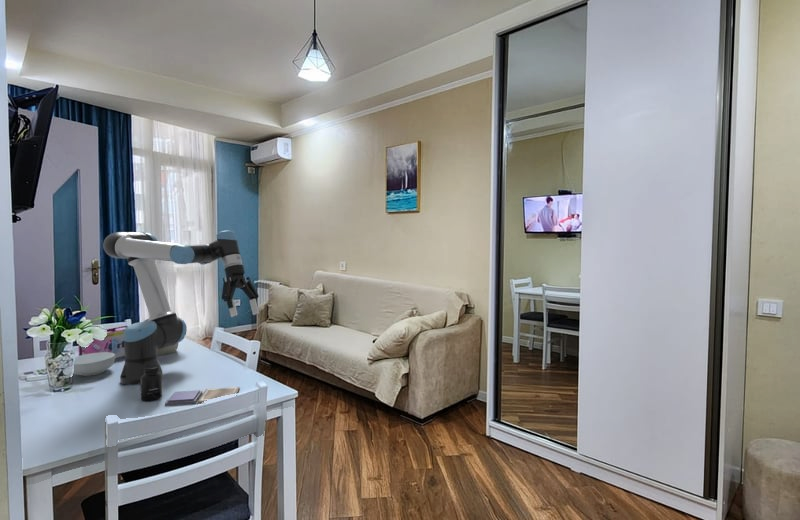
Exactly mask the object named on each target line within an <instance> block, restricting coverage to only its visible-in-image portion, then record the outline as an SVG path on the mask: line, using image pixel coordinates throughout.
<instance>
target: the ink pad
mask: <svg viewBox="0 0 800 520" xmlns="http://www.w3.org/2000/svg"><path fill="white" fill-rule="evenodd" d="M202 394H203V390H200V389H197V390H196V389H195V390H181V391H174V392H173V393H172V394H171V395H170V397H169V398H168V399H167V400H166V401H165V403H164V406H165V407H166V406H179V405H180V406H181V405H195V404H196V403H197V401H198V400H199V399H200V397H201V396H202Z"/></svg>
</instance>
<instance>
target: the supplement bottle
mask: <svg viewBox="0 0 800 520" xmlns="http://www.w3.org/2000/svg"><path fill="white" fill-rule="evenodd" d="M162 396H163V374H162V375H161V373H159V366H157V365H151V366H146V367H144V375H142V376H141V384H140V400H141V401H142V402H145V403H146V402H148V403H149V402H150V403H151V402H155V401H158V400H160V399H161V398H162Z"/></svg>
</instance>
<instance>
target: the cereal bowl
mask: <svg viewBox="0 0 800 520" xmlns="http://www.w3.org/2000/svg"><path fill="white" fill-rule="evenodd" d="M74 357H75V361H74V373H73V374H74V375H79V376H80V375H81V376H82V375H83V376H82V377H90V376H91V375H92V376H97V375H100V374H103V373H104V372H105V371H106V370H108V369H110V368H111V367H112V366H113V365H114V364H115V362H116V361H115V360H116V358H115V354H114V353H110V352H100V353H91V354H85V355H81V356H79V355H77V356H74ZM92 376H91V377H92Z"/></svg>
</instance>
